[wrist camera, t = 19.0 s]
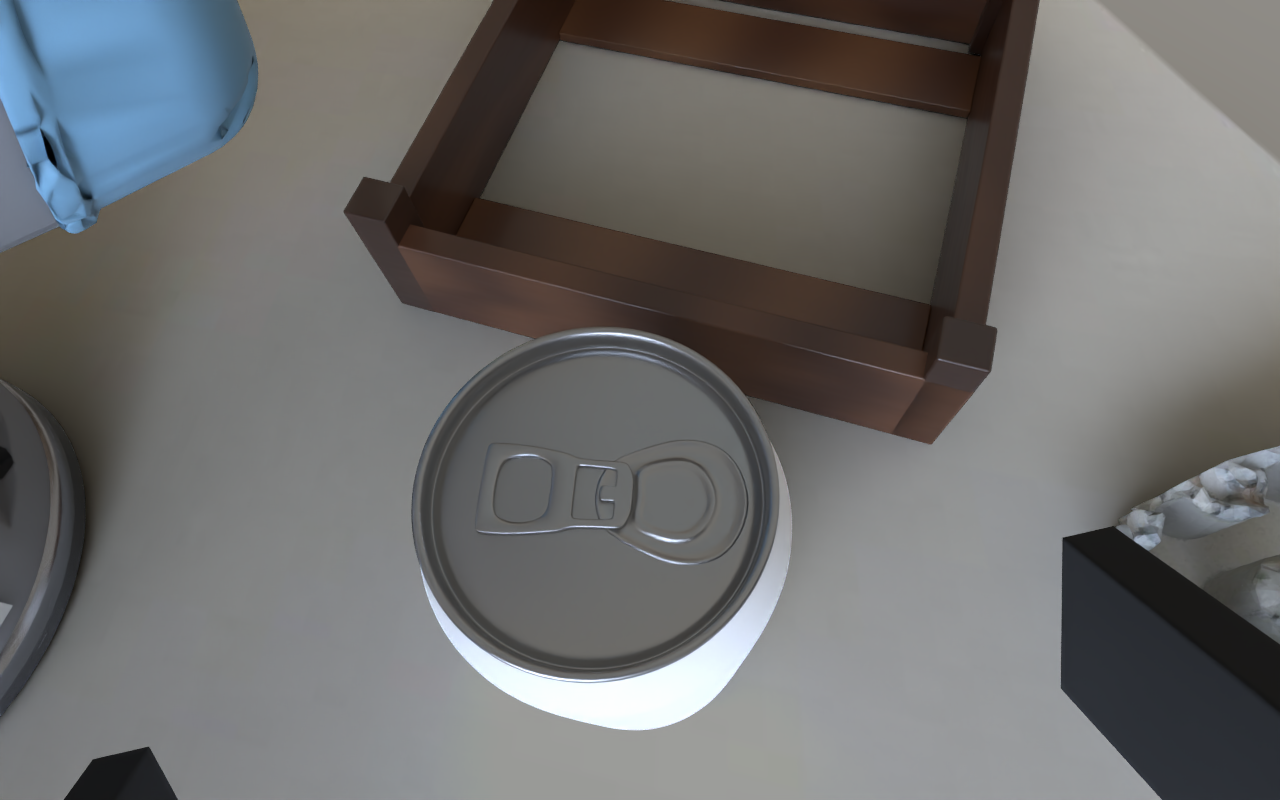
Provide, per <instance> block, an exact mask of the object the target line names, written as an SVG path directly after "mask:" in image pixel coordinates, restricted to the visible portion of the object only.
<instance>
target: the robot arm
mask: <svg viewBox="0 0 1280 800" xmlns="http://www.w3.org/2000/svg"><path fill="white" fill-rule="evenodd" d="M257 86H258V63H257V57H256V52H255V48H254V44H253V41H252V38H251V35H250V32H249V30H248V27H247V24H246V22H245V19H244V16H243V14H242V11H241V9H240V6H239V4H238V1H237V0H0V253H1V252H3V251H5V250H8V249H10V248H12V247H14V246H17V245H19V244H21V243H23V242H26V241H28V240H30V239H32V238H35V237H37V236H39V235H41V234H44V233H46V232H48V231H50V230H52V229H55V228H57V227H59V226H60V228H62V229H64V230H66V231H68V232H69V233H79V232H81V231H83V230H86V229H87V228H89V227H90V226H92V225H93V224H95V223H96V222H97V219H98V215H99V211H100V210H101V208H103V207H105V206H107V205H109V204H111V203H113V202H115V201H117V200H119V199H121V198H123V197H125V196H127V195H129V194H131V193H133V192H135V191H137V190H139V189H141V188H143V187H145V186H147V185H149V184H151V183H153V182H155V181H157V180H159V179H161V178H163V177H165V176H167V175H169V174H171V173H173V172H175V171H177V170H179V169H181V168H183V167H185V166H187V165H189V164H191V163H193V162H195V161H197V160H199V159H201V158H203V157H205V156H207V155H209V154H211V153H213V152H214V151H216V150H218V149H219V148H221V147H223V146H224V145H225V144H226V143H227V142H228V141H230V140H231V139H232V138H233V137H234V136H235V135H236V134H237V133H238V132H239V131H240V129H241V128H242V127H243V126H244V124H245V122H246V121H247V119H248V117H249V115H250V112H251V110H252V108H253V105H254V101H255V96H256V92H257ZM85 520H86V516H85V493H84V486H83V478H82V474H81V471H80V467H79V463H78V459H77V457H76V454H75V452H74V449H73V447H72V444H71V442H70V441H69V439H68V437H67V435H66V434H65V432H64V430H63V428H62V427H61V426H60V424H59V423H58V422H57V420H56V419H55V418H54V417H53V415H52V414H51V413H50V412H49V411H48V410H47V409H46V408H45V407H44V406H43V405H42V404H41V403H40V402H38V401H37V400H36V399H34V398H33V397H32V396H30V395H29V394H27V393H26V392H24V391H23V390H21V389H19V388H17V387H15V386H13V385H12V384H10V383H8V382H6V381H4V380H2V379H0V717H1V716H2V714H3V713H4V712H5V710H6V709H7V708H8V706H9V705H10V704H11V703H12V701H13V700H14V699H15V697H16V696H17V695H18V693H19V692H20V691H21V689H22V688H23V686H24V685H25V683H26V682H27V680H28V679H29V677H30V676H31V674H32V673H33V671H34V669H35V668H36V666H37V665H38V663H39V661H40V660H41V658H42V656H43V654H44V652H45V651H46V649H47V647H48V645H49V643H50V642H51V640H52V638H53V636H54V633H55V631H56V629H57V627H58V625H59V623H60V621H61V618H62V616H63V614H64V611H65V609H66V606H67V603H68V601H69V598H70V595H71V592H72V590H73V586H74V583H75V579H76V575H77V572H78V568H79V564H80V559H81V554H82V548H83V543H84V532H85ZM1061 689H1062V690H1063V691H1064V692H1065V693H1066V694H1067V696H1068V697H1069V698H1070V699H1071V700H1072V701H1073V702H1074V703H1075V704H1076V705H1077V707H1078V708H1079V709H1080V710H1081V711H1082V712H1083V713H1084V714H1085V715H1086V716H1087V718H1088V719H1089V720H1090V721H1091V722H1092V723H1093V724H1094V725H1095V726H1096V727H1097V729H1098V730H1099V731H1100V732H1101V733H1102V734H1103V735H1104V736H1105V737H1106V738H1107V740H1108V741H1109V742H1110V743H1111V744H1112V745H1113V746H1114V747H1115V748H1116V749H1117V751H1118V752H1119V753H1120V754H1121V755H1122V756H1123V757H1124V758H1125V759H1126V760H1127V762H1128V763H1129V764H1130V765H1131V766H1132V767H1133V768H1134V769H1135V770H1136V771H1137V773H1138V774H1139V775H1140V776H1141V777H1142V778H1143V779H1144V780H1145V781H1146V782H1147V784H1148V785H1149V786H1150V787H1151V788H1152V789H1153V790H1154V791H1155V792H1156V793H1157V795H1158V796H1159V797H1160V798H1161V799H1162V800H1280V644H1279V643H1277V642H1276V641H1275V640H1273V639H1272V638H1270V637H1269V636H1268V635H1266V634H1265V633H1263V632H1262V631H1261V630H1259V629H1258V628H1256V627H1255V626H1253V625H1252V624H1251V623H1249V622H1248V621H1246V620H1245V619H1244V618H1242V617H1241V616H1239V615H1238V614H1237V613H1235V612H1234V611H1232V610H1231V609H1229V608H1228V607H1227V606H1225V605H1224V604H1222V603H1221V602H1220V601H1218V600H1217V599H1215V598H1214V597H1213V596H1211V595H1210V594H1208V593H1207V592H1205V591H1204V590H1203V589H1201V588H1200V587H1198V586H1197V585H1196V584H1194V583H1193V582H1191V581H1190V580H1189V579H1187V578H1186V577H1184V576H1183V575H1181V574H1180V573H1179V572H1177V571H1176V570H1174V569H1173V568H1172V567H1170V566H1169V565H1167V564H1166V563H1165V562H1163V561H1162V560H1160V559H1159V558H1158V557H1156V556H1155V555H1153V554H1152V553H1150V552H1149V551H1148V550H1146V549H1145V548H1143V547H1142V546H1141V545H1139V544H1138V543H1136V542H1135V541H1134V540H1132V539H1131V538H1129V537H1128V536H1126V535H1125V534H1124V533H1122V532H1121V531H1119V530H1118V529H1117V528H1115V527H1114V526H1112V527H1108V528H1104V529H1099V530H1095V531H1090V532H1086V533H1082V534H1077V535H1073V536H1069V537H1064V538H1063V552H1062V637H1061ZM64 800H178V799H177V797H176V795H175V793H174V792H173V790H172V788H171V786H170V784H169V782H168V781H167V779H166V777H165V775H164V773H163V771H162V770H161V768H160V766H159V764H158V762H157V760H156V759H155V757H154V755H153V753H152V751H151V749H150V748H149V747H145V748H141V749H137V750H132V751H128V752H123V753H119V754H115V755H110V756H106V757H102V758H97V759H93V760H92V762H91V763H90V764H89V766H88V767H87V768H86V770H85V771H84V773H83V774H82V775H81V777H80V778H79V779H78V781H77V782H76V784H75V785H74V786H73V788H72V789H71V790H70V792H69V793H68V795H67V796H66V797H65V799H64Z"/></svg>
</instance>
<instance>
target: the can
mask: <svg viewBox="0 0 1280 800" xmlns="http://www.w3.org/2000/svg"><path fill="white" fill-rule="evenodd" d="M411 514H412V531H413V538H414V544H415V549H416V553H417V557H418V560H419V564H420V568H421V574H422V578H423V583H424V586H425V590H426V593H427V596H428V599H429V602H430V604H431V607H432V609H433V611H434V613H435V616H436V618H437V620H438V621H439V623H440V625H441V627H442V629H443V630H444V632H445V634H446V635H447V637H448V638H449V640H450V641H451V642H452V644H453V645H454V646H455V648H456V649H457V650H458V651H459V653H460V654H461V655H462V656H463V657H464V658H465V659H466V660H467V661H468V663H469V664H470V665H471V666H472V667H473V668H474V669H476V670H477V671H478V672H479V673H480V674H481V675H482V676H483V677H485V678H486V679H487V680H488V681H490V682H491V683H492V684H493V685H495V686H496V687H498V688H499V689H501V690H502V691H504V692H506V693H507V694H509V695H511V696H513V697H514V698H516V699H518V700H520V701H522V702H525V703H527V704H529V705H531V706H533V707H536V708H538V709H541V710H544V711H546V712H549V713H553V714H556V715H559V716H563V717H566V718H570V719H574V720H578V721H582V722H586V723H590V724H595V725H600V726H604V727H609V728H615V729H623V730H647V729H654V728H659V727H664V726H667V725H670V724H673V723H676V722H679V721H681V720H683V719H685V718H687V717H689V716H691V715H692V714H694V713H696V712H697V711H699V710H700V709H701V708H703V707H704V706H705V705H707V704H708V703H709V702H710V701H711V700H712V699H714V698H715V697H716V696H717V695H718V693H719V692H720V691H721V690H722V689H723V688H724V687H725V685H726V684H727V683H728V682H729V680H730V679H731V678H732V676H733V675H734V674H735V672H736V671H737V669H738V668H739V667H740V665H741V664H742V662H743V661H744V659H745V658H746V656H747V655H748V653H749V652H750V650H751V649H752V647H753V646H754V644H755V643H756V641H757V640H758V638H759V637H760V635H761V633H762V632H763V630H764V628H765V626H766V625H767V623H768V621H769V619H770V617H771V615H772V613H773V611H774V608H775V606H776V604H777V602H778V599H779V597H780V594H781V591H782V588H783V585H784V582H785V578H786V575H787V570H788V566H789V560H790V553H791V543H792V511H791V502H790V496H789V490H788V486H787V482H786V478H785V475H784V471H783V469H782V466H781V463H780V460H779V458H778V456H777V453H776V451H775V449H774V447H773V445H772V443H771V441H770V440H769V437H768V435H767V432H766V430H765V428H764V426H763V423H762V421H761V420H760V418H759V416H758V414H757V412H756V411H755V409H754V407H753V406H752V404H751V403H750V401H749V400H748V399H747V397H746V396H745V394H744V393H743V392H742V391H741V390H740V388H739V387H738V386H737V385H736V384H735V383H734V382H733V381H732V380H731V379H730V378H729V377H728V376H727V375H726V374H725V373H724V372H723V371H722V370H721V369H720V368H718V367H717V366H716V365H715V364H713V363H712V362H711V361H709V360H708V359H706V358H705V357H704V356H702V355H700V354H699V353H697V352H696V351H694V350H692V349H690V348H688V347H686V346H684V345H682V344H680V343H678V342H676V341H673V340H671V339H668V338H665V337H663V336H660V335H656V334H653V333H649V332H645V331H640V330H635V329H629V328H620V327H586V328H577V329H570V330H565V331H560V332H556V333H552V334H549V335H546V336H543V337H540V338H537V339H534V340H531V341H529V342H527V343H524V344H522V345H520V346H518V347H516V348H514V349H512V350H510V351H508V352H507V353H505V354H503V355H502V356H500V357H498V358H497V359H495V360H494V361H492V362H491V363H490V364H488V365H487V366H485V367H484V368H483V369H482V370H480V371H479V372H478V373H477V374H476V375H474V376H473V377H472V378H471V379H470V380H469V381H468V382H467V383H466V384H465V385H464V386H463V387H462V388H461V389H460V390H459V391H458V393H457V394H456V395H455V396H454V397H453V398H452V400H451V401H450V402H449V404H448V405H447V406H446V408H445V409H444V411H443V412H442V413H441V415H440V417H439V418H438V420H437V421H436V423H435V425H434V427H433V429H432V431H431V433H430V435H429V437H428V439H427V441H426V443H425V446H424V448H423V451H422V454H421V457H420V460H419V463H418V467H417V471H416V475H415V480H414V485H413V493H412V509H411Z"/></svg>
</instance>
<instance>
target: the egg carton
mask: <svg viewBox="0 0 1280 800" xmlns="http://www.w3.org/2000/svg"><path fill="white" fill-rule="evenodd" d="M1131 510H1133V511H1132V512H1131V513H1129V514H1128V515H1126V516H1124V517H1121V518H1119V520H1118V521H1119V522H1120V524H1119V525H1118V526H1116V527H1115V528H1117V529H1118V530H1119V531H1121V532H1122V533H1124V534H1125V535H1126V536H1128V537H1129V538H1131V539H1132V540H1134V541H1135V542H1136V543H1138V544H1139V545H1141V546H1142V547H1143V548H1145V549H1146V550H1148V551H1149V552H1150V553H1152V554H1153V555H1155V556H1156V557H1158V558H1159V559H1160V560H1162V561H1163V562H1165V563H1166V564H1167V565H1169V566H1170V567H1172V568H1173V569H1174V570H1176V571H1177V572H1179V573H1180V574H1181V575H1183V576H1184V577H1186V578H1187V579H1189V580H1190V581H1191V582H1193V583H1194V584H1196V585H1197V586H1198V587H1200V588H1201V589H1203V590H1204V591H1205V592H1207V593H1208V594H1210V595H1211V596H1213V597H1214V598H1215V599H1217V600H1218V601H1220V602H1221V603H1222V604H1224V605H1225V606H1227V607H1228V608H1229V609H1231V610H1232V611H1234V612H1235V613H1237V614H1238V615H1239V616H1241V617H1242V618H1244V619H1245V620H1246V621H1248V622H1249V623H1251V624H1252V625H1253V626H1255V627H1256V628H1258V629H1259V630H1261V631H1262V632H1263V633H1265V634H1266V635H1268V636H1269V637H1270V638H1272V639H1273V640H1275V641H1276V642H1277V643H1279V644H1280V446H1278V447H1274V448H1270V449H1266V450H1262V451H1259V452H1255V453H1251V454H1248V455H1244V456H1241V457H1237V458H1234V459H1230V460H1227V461H1225V462H1223V463H1221V464H1219V465H1217V466H1215V467H1213V468H1211V469H1209V470H1207V471H1205V472H1203V473H1201V474H1199V475H1197V476H1195V477H1193V478H1191V479H1189V480H1187V481H1185V482H1183V483H1181V484H1179V485H1177V486H1175V487H1173V488H1171V489H1170V490H1168V491H1167V492H1165V493H1163V494H1161V495H1159V496H1157V497H1155V498H1153V499H1150V500H1148V501H1146V502H1144V503H1141V504H1139V505H1137V506H1135V507H1132V508H1131Z"/></svg>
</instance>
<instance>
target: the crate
mask: <svg viewBox="0 0 1280 800" xmlns="http://www.w3.org/2000/svg"><path fill="white" fill-rule="evenodd" d="M721 1H727V2H733V3H738V4H744V5H750V6H756V7H761V8H767V9H773V10H778V11H784V12H790V13H796V14H801V15H807V16H813V17H818V18H824V19H830V20H835V21H841V22H847V23H853V24H858V25H864V26H870V27H875V28H881V29H887V30H893V31H898V32H904V33H910V34H915V35H921V36H927V37H933V38H938V39H944V40H950V41H955V42H961V43H967V44H970V45H969V49H968V52H969V53H973V54H978V55H980V56H975V55H969V54H964V53H958V52H952V51H947V50H941V49H936V48H930V47H924V46H919V45H913V44H907V43H902V42H896V41H890V40H885V39H879V38H874V37H868V36H862V35H857V34H851V33H845V32H840V31H834V30H829V29H823V28H817V27H812V26H806V25H800V24H795V23H789V22H783V21H778V20H772V19H767V18H761V17H755V16H750V15H744V14H738V13H733V12H727V11H721V10H716V9H710V8H705V7H699V6H693V5H688V4H682V3H676V2H671V1H665V0H493V2H492V4H491V6H490V7H489V9H488V11H487V13H486V15H485V16H484V18H483V20H482V22H481V23H480V25H479V27H478V29H477V30H476V32H475V34H474V36H473V37H472V39H471V41H470V43H469V44H468V46H467V48H466V50H465V51H464V53H463V55H462V57H461V58H460V60H459V62H458V64H457V66H456V67H455V69H454V71H453V73H452V74H451V76H450V78H449V80H448V81H447V83H446V85H445V87H444V88H443V90H442V92H441V94H440V95H439V97H438V99H437V101H436V102H435V104H434V106H433V108H432V109H431V111H430V113H429V115H428V117H427V118H426V120H425V122H424V124H423V125H422V127H421V129H420V131H419V132H418V134H417V136H416V138H415V139H414V141H413V143H412V145H411V146H410V148H409V150H408V152H407V153H406V155H405V157H404V159H403V160H402V162H401V164H400V166H399V168H398V169H397V171H396V173H395V175H394V176H393V178H392V180H391V182H390V183H388V182H384V181H380V180H376V179H371V178H367V177H364V178H363V179H362V181H361V182H360V184H359V186H358V187H357V189H356V191H355V193H354V194H353V196H352V198H351V199H350V201H349V203H348V204H347V206H346V208H345V210H344V213H345V215H346V217H347V218H348V220H349V221H350V223H351V224H352V226H353V227H354V229H355V231H356V232H357V234H358V235H359V237H360V238H361V240H362V241H363V243H364V245H365V246H366V248H367V249H368V251H369V252H370V254H371V255H372V257H373V259H374V260H375V262H376V263H377V265H378V266H379V268H380V269H381V271H382V273H383V274H384V276H385V277H386V279H387V280H388V282H389V283H390V285H391V287H392V288H393V290H394V291H395V293H396V294H397V296H398V297H399V299H400V301H401V302H402V303H404V304H407V305H411V306H415V307H419V308H422V309H426V310H430V311H434V312H438V313H442V314H445V315H449V316H453V317H457V318H460V319H464V320H468V321H472V322H475V323H479V324H483V325H487V326H490V327H494V328H498V329H501V330H505V331H509V332H513V333H516V334H520V335H524V336H528V337H531V338H535V339H537V338H540V337H543V336H546V335H549V334H552V333H556V332H560V331H565V330H570V329H577V328H586V327H620V328H629V329H635V330H640V331H645V332H649V333H653V334H656V335H660V336H663V337H665V338H668V339H671V340H673V341H676V342H678V343H680V344H682V345H684V346H686V347H688V348H690V349H692V350H694V351H696V352H697V353H699V354H700V355H702V356H704V357H705V358H706V359H708V360H709V361H711V362H712V363H713V364H715V365H716V366H717V367H718V368H720V369H721V370H722V371H723V372H724V373H725V374H726V375H727V376H728V377H729V378H730V379H731V380H732V381H733V382H734V383H735V384H736V385H737V386H738V387H739V388H740V390H741V391H742V392H743V393H744V394H745V395H748V396H752V397H755V398H759V399H763V400H767V401H770V402H774V403H778V404H782V405H785V406H789V407H793V408H797V409H800V410H804V411H808V412H811V413H815V414H819V415H823V416H826V417H830V418H834V419H838V420H841V421H845V422H849V423H853V424H856V425H860V426H864V427H868V428H871V429H875V430H879V431H882V432H886V433H890V434H894V435H897V436H901V437H905V438H909V439H912V440H916V441H920V442H924V443H927V444H932V443H933V442H934V441H935V439H936V438H937V437H938V436H939V435H940V433H941V432H942V431H943V430H944V429H945V427H946V426H947V425H948V424H949V422H950V421H951V420H952V419H953V418H954V416H955V415H956V414H957V413H958V411H959V410H960V409H961V408H962V407H963V405H964V404H965V403H966V402H967V401H968V399H969V398H970V397H971V396H972V394H973V393H974V392H975V390H976V389H977V388H978V387H979V385H980V384H981V383H982V382H983V381H984V379H985V378H986V377H987V376H988V374H989V373H990V372H991V369H992V362H993V356H994V350H995V343H996V337H997V328H995V327H992V326H988V325H986V321H987V315H988V309H989V303H990V297H991V291H992V285H993V279H994V273H995V267H996V261H997V254H998V248H999V242H1000V236H1001V230H1002V224H1003V218H1004V212H1005V206H1006V200H1007V194H1008V188H1009V182H1010V176H1011V170H1012V164H1013V158H1014V152H1015V146H1016V140H1017V134H1018V128H1019V122H1020V116H1021V110H1022V104H1023V98H1024V92H1025V86H1026V79H1027V73H1028V67H1029V61H1030V55H1031V49H1032V43H1033V37H1034V31H1035V25H1036V19H1037V13H1038V7H1039V1H1040V0H721ZM559 40H562V41H568V42H573V43H578V44H583V45H588V46H594V47H599V48H604V49H609V50H614V51H620V52H625V53H630V54H635V55H641V56H646V57H651V58H656V59H661V60H667V61H672V62H677V63H682V64H687V65H693V66H698V67H703V68H708V69H713V70H719V71H724V72H729V73H734V74H740V75H745V76H750V77H755V78H760V79H766V80H771V81H776V82H781V83H786V84H792V85H797V86H802V87H807V88H812V89H818V90H823V91H828V92H833V93H839V94H844V95H849V96H854V97H859V98H865V99H870V100H875V101H880V102H885V103H891V104H896V105H901V106H906V107H911V108H917V109H922V110H927V111H932V112H937V113H943V114H948V115H953V116H958V117H964V118H967V117H968V120H967V125H966V130H965V135H964V140H963V145H962V150H961V155H960V160H959V165H958V170H957V175H956V180H955V185H954V190H953V195H952V200H951V205H950V210H949V215H948V219H947V224H946V229H945V234H944V239H943V244H942V249H941V254H940V259H939V264H938V269H937V274H936V279H935V284H934V289H933V294H932V299H931V304H930V305H929V304H925V303H920V302H916V301H912V300H908V299H903V298H899V297H895V296H891V295H886V294H882V293H878V292H874V291H869V290H865V289H861V288H857V287H852V286H848V285H844V284H840V283H836V282H831V281H827V280H823V279H819V278H814V277H810V276H806V275H802V274H797V273H793V272H789V271H785V270H780V269H776V268H772V267H768V266H764V265H759V264H755V263H751V262H747V261H742V260H738V259H734V258H730V257H725V256H721V255H717V254H713V253H708V252H704V251H700V250H696V249H691V248H687V247H683V246H679V245H675V244H670V243H666V242H662V241H658V240H653V239H649V238H645V237H641V236H636V235H632V234H628V233H624V232H619V231H615V230H611V229H607V228H602V227H598V226H594V225H590V224H586V223H581V222H577V221H573V220H569V219H564V218H560V217H556V216H552V215H547V214H543V213H539V212H535V211H530V210H526V209H522V208H518V207H514V206H509V205H505V204H501V203H497V202H492V201H488V200H484V199H480V196H481V194H482V192H483V190H484V188H485V186H486V184H487V182H488V180H489V178H490V176H491V174H492V172H493V170H494V168H495V166H496V164H497V162H498V160H499V158H500V156H501V154H502V152H503V150H504V148H505V146H506V144H507V142H508V140H509V138H510V136H511V135H512V133H513V131H514V129H515V127H516V125H517V123H518V121H519V119H520V117H521V115H522V113H523V111H524V109H525V107H526V105H527V103H528V101H529V99H530V97H531V95H532V93H533V91H534V89H535V87H536V85H537V83H538V81H539V79H540V77H541V75H542V73H543V71H544V69H545V67H546V65H547V63H548V61H549V59H550V57H551V55H552V53H553V51H554V49H555V47H556V45H557V43H558V42H559Z"/></svg>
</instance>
